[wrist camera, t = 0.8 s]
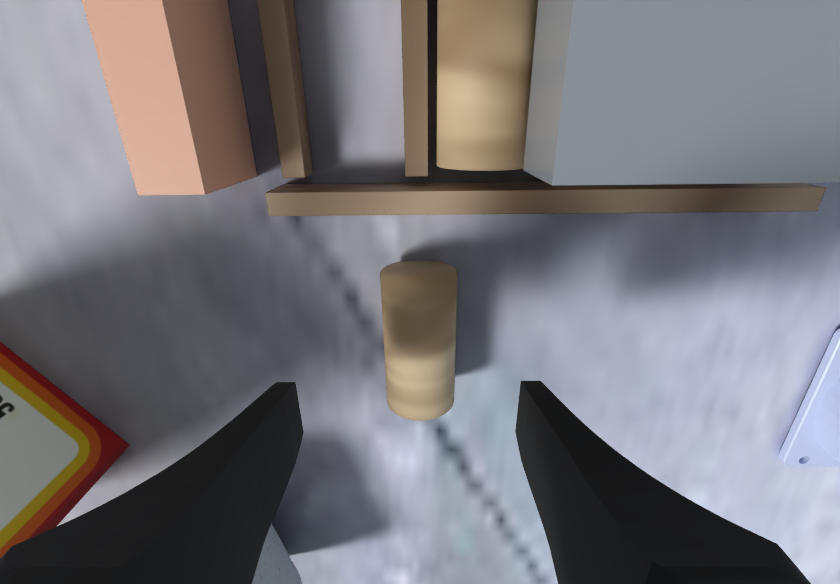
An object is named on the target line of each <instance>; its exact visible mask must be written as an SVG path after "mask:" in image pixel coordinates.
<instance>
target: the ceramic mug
mask: <svg viewBox="0 0 840 584" xmlns="http://www.w3.org/2000/svg"><path fill="white" fill-rule="evenodd" d="M252 584H302V581H301V578H300V575H299V573H298V571H297V569H296V567H295V566H294V564H293V562H292V561H291V559H290V557H289V554H288V552H287V550H286V548H285V547H284V545H283V543H282V541H281V539H280V538H279V536H278V534H277V532H276V531H275V529H274V527H273V525H272V523H271V526H270V528H269V531H268V534H267V536H266V539H265V542H264V545H263V548H262V551H261V555H260V558H259V561H258V565H257V568H256V572H255V575H254V578H253V582H252Z"/></svg>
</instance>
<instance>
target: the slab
mask: <svg viewBox="0 0 840 584" xmlns="http://www.w3.org/2000/svg"><path fill="white" fill-rule="evenodd" d="M523 170H524V171H525V172H527V173H529V174H531V175H533V176H535V177H537V178H539V179H541V180H542V181H544V182H546V183H548V184H550V185H552V186H553V185H653V184H753V183H840V0H538V8H537V20H536V31H535V43H534V54H533V65H532V77H531V88H530V99H529V111H528V122H527V133H526V145H525V156H524V167H523Z"/></svg>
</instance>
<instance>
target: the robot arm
mask: <svg viewBox="0 0 840 584" xmlns="http://www.w3.org/2000/svg"><path fill="white" fill-rule="evenodd" d="M302 436H303V427H302V421H301V415H300V409H299V403H298V397H297V390H296V384H295V382H276V383H275V384H274V385H273V386H271V387H270V388H269V389H268V390H267V391H265V392H264V393H263V394H262V395H261V396H260V397H259V398H257V399H256V400H255V401H254V402H253V403H252V404H251V405H249V406H248V407H247V408H246V409H245V410H244V411H242V412H241V413H240V414H239V415H238V416H237V417H235V418H234V419H233V420H232V421H231V422H229V423H228V424H227V425H226V426H224V427H223V428H222V429H221V430H219V431H218V432H217V433H215V434H214V435H213V436H212V437H210V438H209V439H208V440H206V441H205V442H204V443H203V444H201V445H200V446H199V447H197V448H196V449H194V450H193V451H192V452H190V453H189V454H187V455H186V456H184V457H183V458H181V459H180V460H178V461H177V462H175V463H174V464H172V465H171V466H169V467H168V468H166V469H165V470H163V471H162V472H160V473H158V474H157V475H155V476H153V477H151V478H150V479H148V480H146V481H145V482H143V483H141V484H139V485H138V486H136V487H134V488H133V489H131V490H129V491H128V492H126V493H124V494H122V495H120V496H118V497H116V498H115V499H113V500H111V501H109V502H107V503H105V504H103V505H101V506H99V507H97V508H95V509H93V510H91V511H89V512H87V513H85V514H83V515H81V516H79V517H77V518H75V519H73V520H70V521H68V522H66V523H64V524H62V525H59V526H57V527H55V528H53V529H50V530H48V531H46V532H43V533H41V534H39V535H37V536H34V537H32V538H30V539H27V540H25V541H23V542H20V543H18V544H16V545H13V546H12V547H11V548H10V549H9V550H8V551H7V552H6V553H5V554H4V555H3V556H2V557H1V558H0V584H252V582H253V578H254V575H255V572H256V568H257V565H258V561H259V558H260V555H261V551H262V548H263V545H264V542H265V539H266V536H267V534H268V531H269V528H270V526H271V523H272V521H273V518H274V516H275V513H276V511H277V508H278V506H279V503H280V501H281V498H282V496H283V493H284V491H285V489H286V486H287V483H288V481H289V478H290V476H291V473H292V471H293V468H294V465H295V463H296V459H297V456H298V452H299V448H300V444H301V440H302ZM516 436H517V441H518V446H519V451H520V456H521V460H522V464H523V467H524V470H525V473H526V476H527V479H528V482H529V485H530V488H531V491H532V494H533V497H534V500H535V503H536V506H537V509H538V512H539V515H540V518H541V521H542V524H543V527H544V530H545V533H546V536H547V540H548V543H549V546H550V550H551V555H552V559H553V563H554V567H555V571H556V576H557V580H558V584H811V583H810V582H809V581H808V580H807V579H806V577H805V576H804V575H803V574H802V572H801V571H800V570H799V569H798V568H797V566H796V565H795V564H794V563H793V562H792V561H791V559H790V558H789V557H788V556H787V555H786V553H785V552H784V551H783V550H782V549H781V548H780V547H779V546H778V544H776V543H774V542H772V541H770V540H767V539H765V538H763V537H761V536H759V535H757V534H755V533H753V532H751V531H749V530H746V529H744V528H742V527H740V526H738V525H736V524H734V523H732V522H730V521H728V520H726V519H724V518H722V517H720V516H718V515H716V514H714V513H712V512H711V511H709V510H707V509H705V508H703V507H701V506H699V505H698V504H696V503H694V502H692V501H691V500H689V499H687V498H685V497H684V496H682V495H680V494H679V493H677V492H675V491H674V490H672V489H670V488H669V487H667V486H666V485H664V484H663V483H661V482H659V481H658V480H656V479H655V478H653V477H652V476H650V475H649V474H647V473H646V472H644V471H643V470H641V469H640V468H638V467H637V466H636V465H634V464H633V463H632V462H630V461H629V460H627V459H626V458H625V457H623V456H622V455H621V454H619V453H618V452H617V451H615V450H614V449H613V448H612V447H610V446H609V445H608V444H607V443H606V442H604V441H603V440H602V439H601V438H600V437H598V436H597V435H596V434H595V433H594V432H593V431H591V430H590V429H589V428H588V427H587V426H586V425H585V424H584V423H582V422H581V421H580V420H579V419H578V418H577V417H576V416H575V415H574V414H573V413H572V412H571V411H570V410H569V409H568V408H567V407H566V406H565V405H564V404H563V403H562V402H561V401H560V400H559V399H558V398H557V397H556V396H555V395H554V394H553V393H552V392H551V391H550V390H549V389H548V388H547V387H546V386H545V385H544V384H543V383H542V382H541V381H521V386H520V395H519V404H518V413H517V423H516ZM778 458H779V460H780V461H781V462H782V463H783V464H784V465H786V466H789V467H840V328H839V329H838V330H837V331H836V332H835V333H834V335H833V337H832V339H831V341H830V343H829V346H828V348H827V350H826V352H825V354H824V356H823V359H822V361H821V363H820V365H819V367H818V370H817V372H816V374H815V376H814V378H813V381H812V383H811V385H810V387H809V389H808V391H807V394H806V396H805V398H804V400H803V402H802V405H801V407H800V409H799V411H798V413H797V415H796V418H795V420H794V422H793V424H792V426H791V429H790V431H789V433H788V435H787V437H786V440H785V442H784V444H783V446H782V448H781V450H780V453H779V456H778Z"/></svg>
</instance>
